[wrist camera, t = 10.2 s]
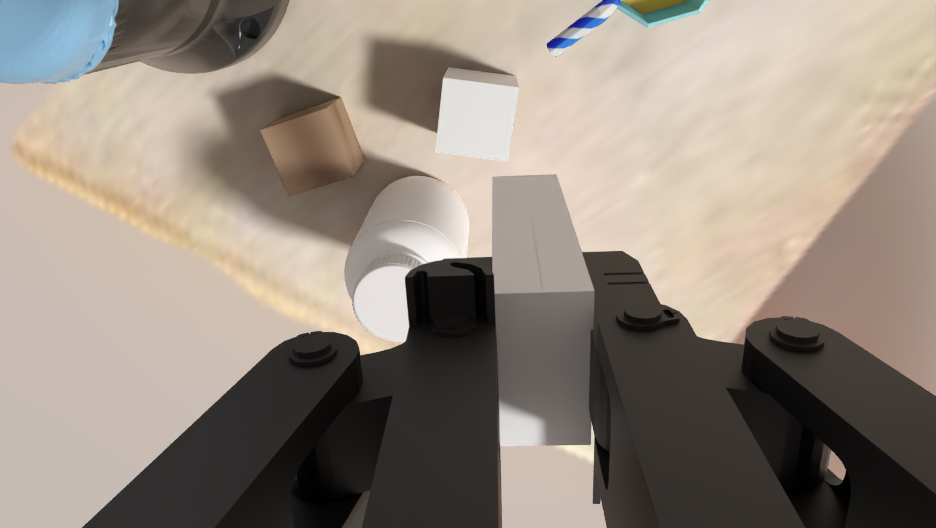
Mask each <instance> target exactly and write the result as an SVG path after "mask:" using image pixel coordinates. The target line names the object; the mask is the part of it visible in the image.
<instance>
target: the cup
mask: <svg viewBox="0 0 936 528" xmlns="http://www.w3.org/2000/svg"><path fill="white" fill-rule="evenodd" d="M707 1H708V0H603V1H602V2H600V3H599V4H598V5H596V6H595V7H594V8H592V9H591V10H590V11H589V12H587V13H586V14H585V15H583V16H582V17H581V18H580V19H578V20H577V21H576V22H574V23H573V24H572V25H570V26H569V27H568V28H567V29H565V30H564V31H563V32H561V33H560V34H559V35H558V36H556V37H555V38H554V39H552V40H551V41H550V42H548V43H547V48H548V49H549V51H550V53H551V54H552V55H553V56H555V57H556V56H557V55H559V54H560V53H561V52H563V51H564V50H566V49H567V48H568V47H570V46H571V45H573V44H574V43H575V42H577V41H578V40H579V39H581V38H582V37H584V36H585V35H586V34H588V33H589V32H591V31H592V30H593V29H595V28H596V27H597V26H599V25H600V24H602V23H603V22H604V21H606V19H607V18H608V17H609V16H610V15H611V14H612V13H613V12H614V11H615V10H616V9H618V10H620V11H621V12H623V13H625V14H626V15H628V16H629V17H631V18H633V19H634V20H636V21H637V22H639V23H640V24H642V25H644V26H645V27H647V28H648V27H651V26H655V25H658V24H662V23H666V22H669V21H673V20H676V19H680V18H683V17H687V16H690V15H694V14H698V13H700V12H701V10H702V9H703V7H704V6H705V4H706V3H707Z"/></svg>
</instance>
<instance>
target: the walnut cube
mask: <svg viewBox="0 0 936 528" xmlns="http://www.w3.org/2000/svg"><path fill="white" fill-rule="evenodd" d="M260 131H261V134H262V136H263V138H264V141H265V143H266V145H267V148H268V150H269V152H270V155H271V157H272V159H273V162H274V164H275V166H276V168H277V171H278V173H279V175H280V178H281V180H282V182H283V185H284V187H285V189H286V192H287V194H288V196H291V195H295V194H298V193H301V192H304V191H307V190H311V189H314V188H317V187H320V186H323V185H327V184H330V183H333V182H336V181H339V180H343V179H346V178H349V177H352V176H354V174H355V173H356V171H357V170H358V169H359V167H360V166H361V164H362V163H363V162H364V160H365V159H364V156H363V153H362V151H361V148H360V146H359V143H358V140H357V138H356V135H355V132H354V130H353V127H352V125H351V122H350V119H349V117H348V114H347V111H346V109H345V106H344V104H343V101H342V98H341V97H340V98H337V99H334V100H331V101H328V102H325V103H322V104H319V105H316V106H313V107H310V108H307V109H304V110H301V111H298V112H294V113H291V114H288V115H285V116H282V117H280V118H278V119H277V120H275V121H273V122H272V123H270V124H269V125H267V126H266V127H264V128H263V129H261V130H260Z"/></svg>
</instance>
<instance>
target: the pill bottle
mask: <svg viewBox="0 0 936 528" xmlns="http://www.w3.org/2000/svg"><path fill="white" fill-rule="evenodd" d="M468 234H469V220H468V215H467V211H466V208H465V206H464V204H463V202H462V200H461V199H460V197H459V196H458V195H457V193H456V192H455V191H454V190H453V189H452V188H450V187H449V186H448V185H446V184H445V183H443V182H441V181H439V180H437V179H434V178H431V177H426V176H409V177H405V178H401V179H399V180H396V181H394V182H393V183H391V184H389V185H388V186H387V187H386V188H384V189H383V190H382V191H381V192H380V193H379V195H378V196H377V197H376V199H375V200H374V202H373V204H372V206H371V208H370V210H369V212H368V214H367V216H366V218H365V220H364V222H363V224H362V226H361V228H360V230H359V232H358V234H357V236H356V238H355V240H354V242H353V244H352V246H351V248H350V250H349V253H348V255H347V259H346V263H345V282H346V286H347V290H348V293H349V295H350V297H351V299H352V303H353V304H352V305H353V310H354V311H355V312H354V313H355V314H356V317H357V318H358V321H359V322H360V323H361V325H362V326H363V327H364V328H365V329H366V330H367V331H369V332H370V333H372V334H373V335H375V336H377V337H379V338H381V339H384V340H388V341H397V342H400V341H406V338H407V334H408V329H409V320H408V309H407V298H406V287H405V276H406V275H407V274H408V272H409V271H410V270H412V269H414V268H416V267H418V266H420V265H422V264H426V263H429V262H433V261H440V260H443V259H447V258H467V247H468Z"/></svg>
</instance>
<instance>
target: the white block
mask: <svg viewBox="0 0 936 528" xmlns="http://www.w3.org/2000/svg"><path fill="white" fill-rule="evenodd" d="M518 90H519V86H518V82H517V78H516V76H513V75H505V74H497V73H490V72H482V71H474V70H467V69H459V68H451V67H448V69H447V71H446V73H445V75H444V77H443V83H442V93H441V102H440V112H439V121H438V131H437V140H436V150H435V153H443V154H451V155H459V156H467V157H474V158H482V159H490V160H498V161H506V162H508V158H509V151H510V144H511V138H512V131H513V124H514V117H515V111H516V104H517V97H518Z"/></svg>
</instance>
